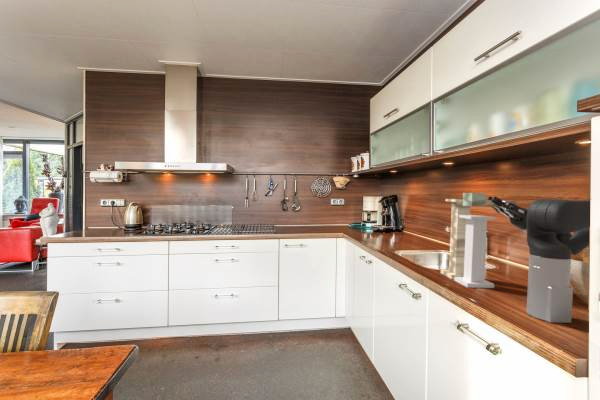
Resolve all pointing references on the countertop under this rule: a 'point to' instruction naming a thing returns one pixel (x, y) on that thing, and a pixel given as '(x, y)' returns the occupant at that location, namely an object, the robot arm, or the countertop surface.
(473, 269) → the white pedestal stand
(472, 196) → the mallet
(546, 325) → the countertop surface
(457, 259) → the beige wooden post
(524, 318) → the countertop surface
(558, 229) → the robot arm
